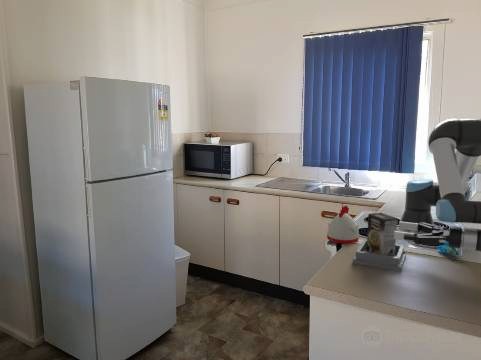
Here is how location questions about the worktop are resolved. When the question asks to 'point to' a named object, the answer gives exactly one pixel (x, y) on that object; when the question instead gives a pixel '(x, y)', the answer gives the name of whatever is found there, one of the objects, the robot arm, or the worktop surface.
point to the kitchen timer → (343, 228)
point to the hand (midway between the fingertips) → (396, 229)
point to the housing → (380, 258)
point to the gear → (447, 249)
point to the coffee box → (381, 234)
